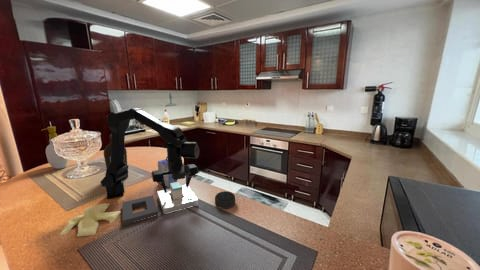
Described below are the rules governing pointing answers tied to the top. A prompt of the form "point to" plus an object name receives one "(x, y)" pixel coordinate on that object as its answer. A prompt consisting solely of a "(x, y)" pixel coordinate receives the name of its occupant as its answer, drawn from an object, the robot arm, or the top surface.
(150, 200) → the dark grey flat frame
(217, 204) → the smart speaker
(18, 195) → the top surface
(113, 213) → the cloth
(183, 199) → the block
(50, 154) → the soap bottle
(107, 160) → the olive oil
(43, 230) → the top surface
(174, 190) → the plug
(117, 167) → the robot arm
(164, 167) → the ink cartridge box
